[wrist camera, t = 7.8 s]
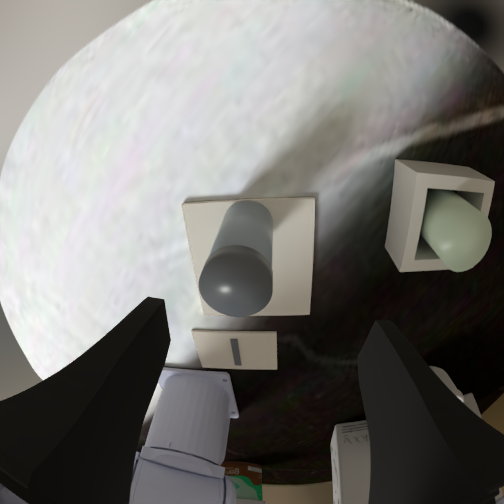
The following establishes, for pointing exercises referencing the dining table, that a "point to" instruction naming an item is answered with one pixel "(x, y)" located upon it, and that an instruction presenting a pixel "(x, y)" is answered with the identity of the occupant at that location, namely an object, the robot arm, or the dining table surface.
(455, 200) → the plunger
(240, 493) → the food container
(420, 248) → the button collar
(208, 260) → the grey capped cylinder
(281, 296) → the paper
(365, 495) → the cereal box
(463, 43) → the dining table surface
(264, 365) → the card
